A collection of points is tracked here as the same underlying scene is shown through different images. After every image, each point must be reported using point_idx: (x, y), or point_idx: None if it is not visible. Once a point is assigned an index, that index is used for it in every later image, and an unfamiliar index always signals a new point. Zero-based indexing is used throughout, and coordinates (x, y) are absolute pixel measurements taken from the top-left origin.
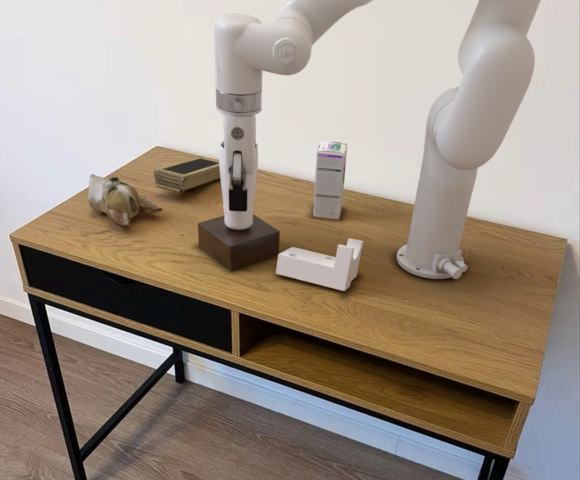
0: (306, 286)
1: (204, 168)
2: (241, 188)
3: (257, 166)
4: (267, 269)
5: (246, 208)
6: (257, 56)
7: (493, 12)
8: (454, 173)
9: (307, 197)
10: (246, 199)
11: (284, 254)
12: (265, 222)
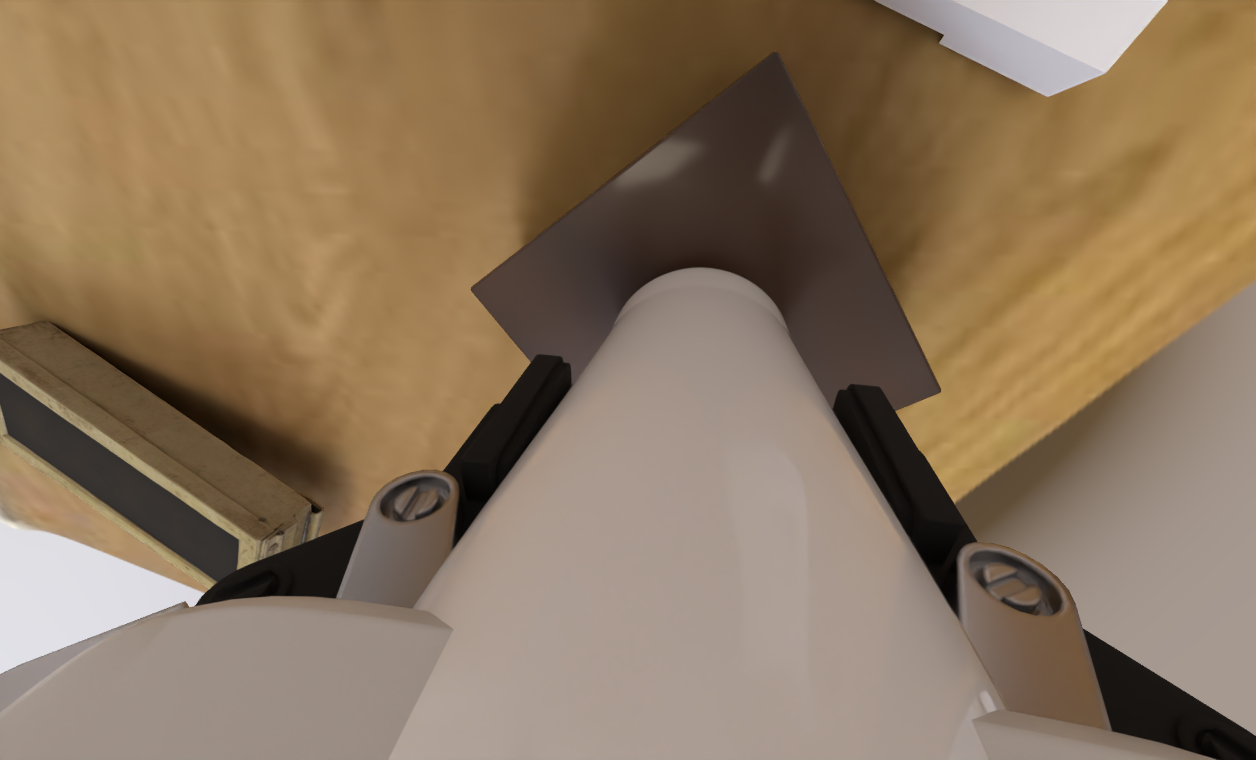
0: None
1: (107, 446)
2: (1115, 660)
3: (812, 653)
4: (915, 145)
5: (881, 398)
6: None
7: None
8: None
9: None
10: (910, 451)
11: (1107, 15)
12: (634, 167)
